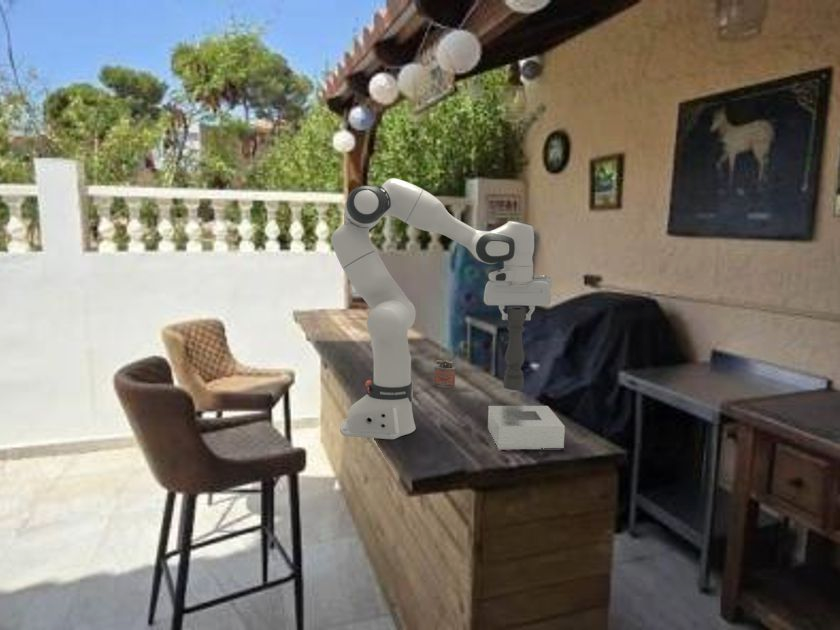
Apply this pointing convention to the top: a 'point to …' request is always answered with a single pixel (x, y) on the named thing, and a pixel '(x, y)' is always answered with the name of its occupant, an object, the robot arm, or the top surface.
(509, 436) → the sleeve block
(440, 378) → the lighter
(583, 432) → the top surface
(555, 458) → the top surface
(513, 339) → the candle holder
